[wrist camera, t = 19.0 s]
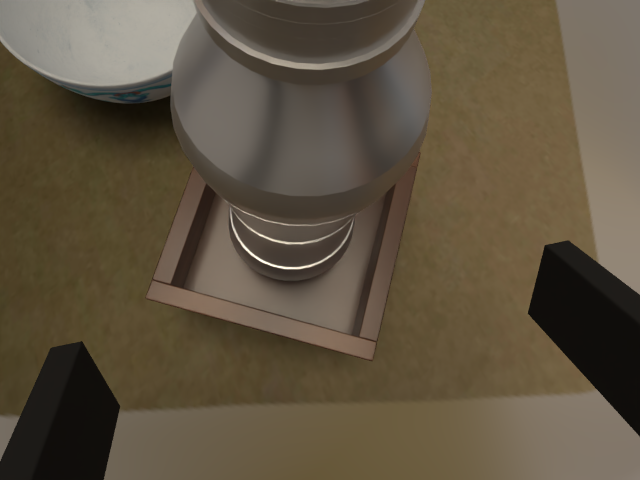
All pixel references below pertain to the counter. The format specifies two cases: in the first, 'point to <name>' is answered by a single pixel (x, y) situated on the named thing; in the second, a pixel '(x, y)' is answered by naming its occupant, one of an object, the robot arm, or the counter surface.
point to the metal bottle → (300, 118)
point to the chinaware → (99, 44)
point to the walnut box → (277, 295)
